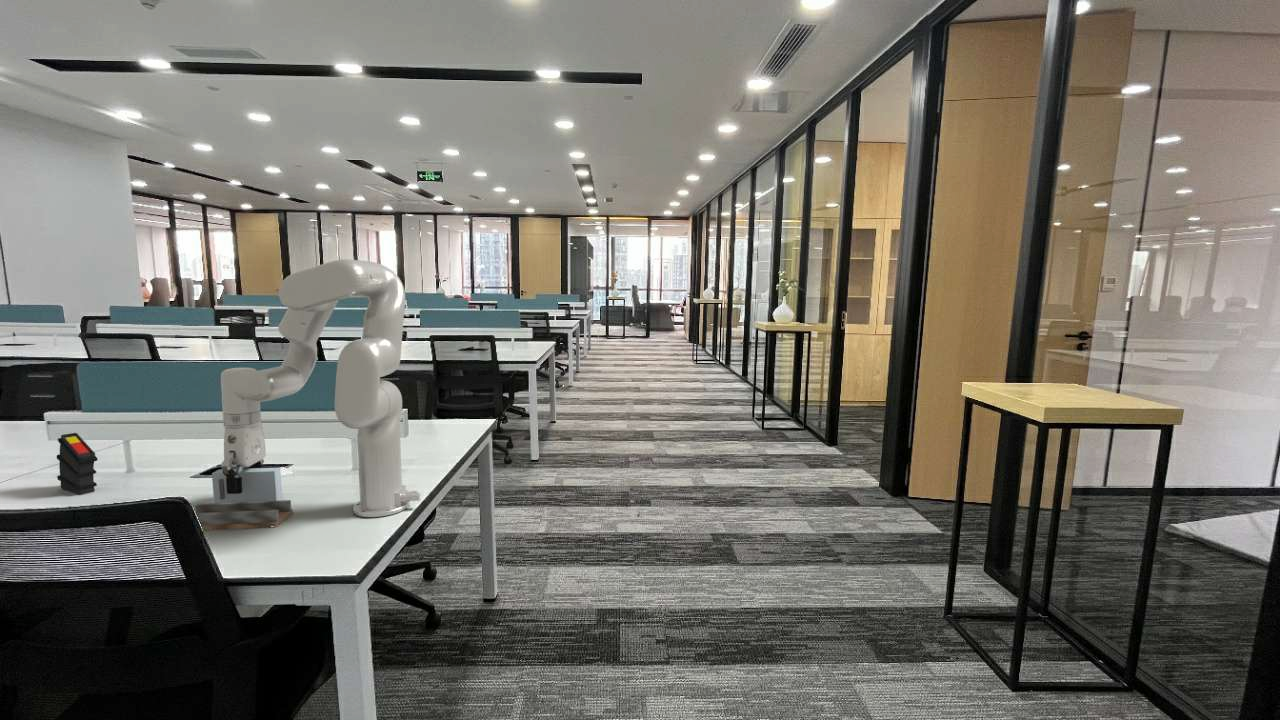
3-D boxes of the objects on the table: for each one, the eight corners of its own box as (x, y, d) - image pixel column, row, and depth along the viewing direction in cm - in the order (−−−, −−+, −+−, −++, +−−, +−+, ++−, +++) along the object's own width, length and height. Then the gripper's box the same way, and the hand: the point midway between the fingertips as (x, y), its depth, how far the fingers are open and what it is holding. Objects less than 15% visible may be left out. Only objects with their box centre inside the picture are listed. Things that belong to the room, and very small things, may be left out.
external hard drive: (233, 481, 157) (283, 471, 167) (243, 488, 152) (293, 477, 162) (233, 476, 157) (283, 466, 166) (242, 482, 152) (293, 471, 161)
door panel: (282, 502, 141) (280, 467, 140) (276, 507, 138) (273, 471, 137) (222, 504, 139) (219, 469, 138) (213, 509, 136) (210, 473, 135)
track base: (292, 513, 134) (291, 499, 133) (276, 527, 126) (275, 512, 125) (200, 517, 131) (199, 503, 130) (177, 531, 123) (176, 516, 123)
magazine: (71, 477, 153) (77, 431, 149) (94, 504, 149) (101, 458, 144) (52, 481, 150) (58, 434, 145) (75, 509, 145) (82, 462, 141)
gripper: (239, 427, 128) (243, 498, 130) (276, 411, 145) (279, 474, 147) (203, 427, 127) (207, 499, 129) (245, 411, 144) (248, 475, 146)
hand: (246, 486), depth 138 cm, fingers open, 9 cm apart
